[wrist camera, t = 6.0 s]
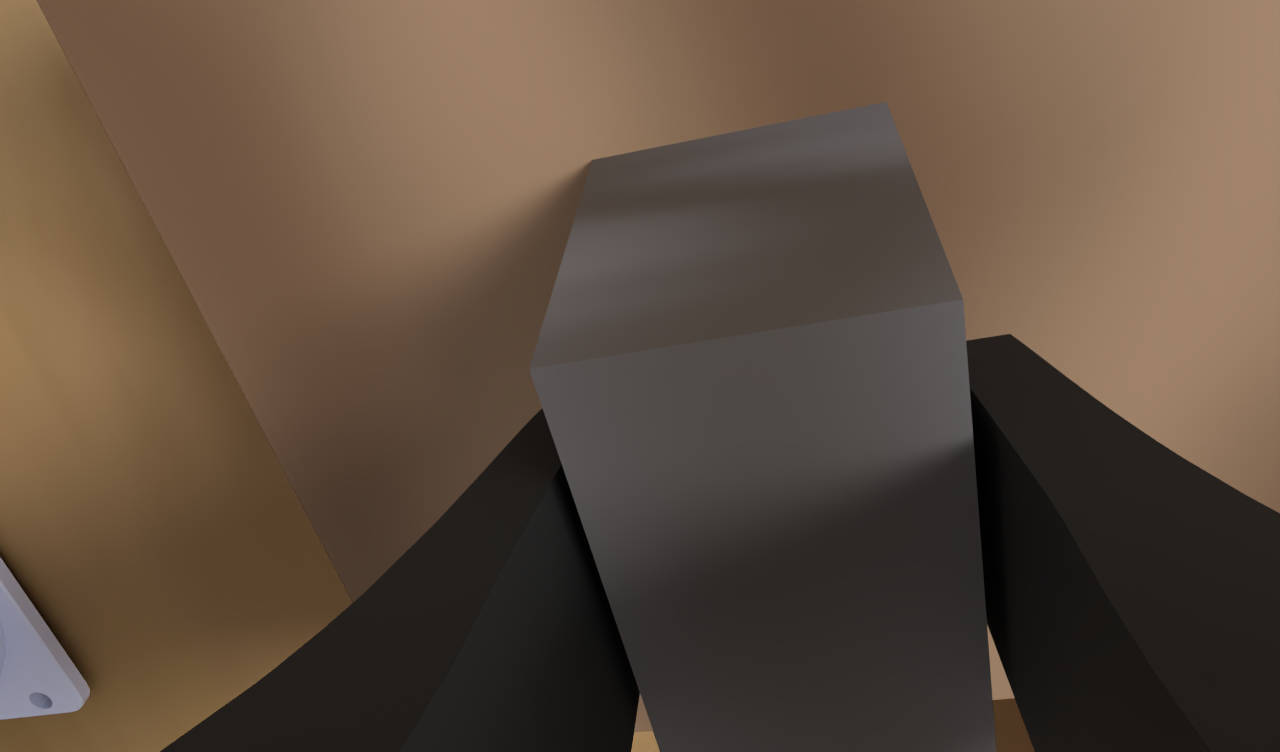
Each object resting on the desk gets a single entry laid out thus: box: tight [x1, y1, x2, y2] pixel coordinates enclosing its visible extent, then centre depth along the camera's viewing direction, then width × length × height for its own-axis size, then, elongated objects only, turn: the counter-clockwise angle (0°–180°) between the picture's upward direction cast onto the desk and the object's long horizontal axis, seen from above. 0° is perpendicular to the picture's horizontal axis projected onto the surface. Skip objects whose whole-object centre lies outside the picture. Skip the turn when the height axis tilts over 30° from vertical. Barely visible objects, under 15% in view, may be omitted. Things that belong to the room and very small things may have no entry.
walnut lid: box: [37, 0, 1280, 752], centre depth 10 cm, size 13×13×5 cm
